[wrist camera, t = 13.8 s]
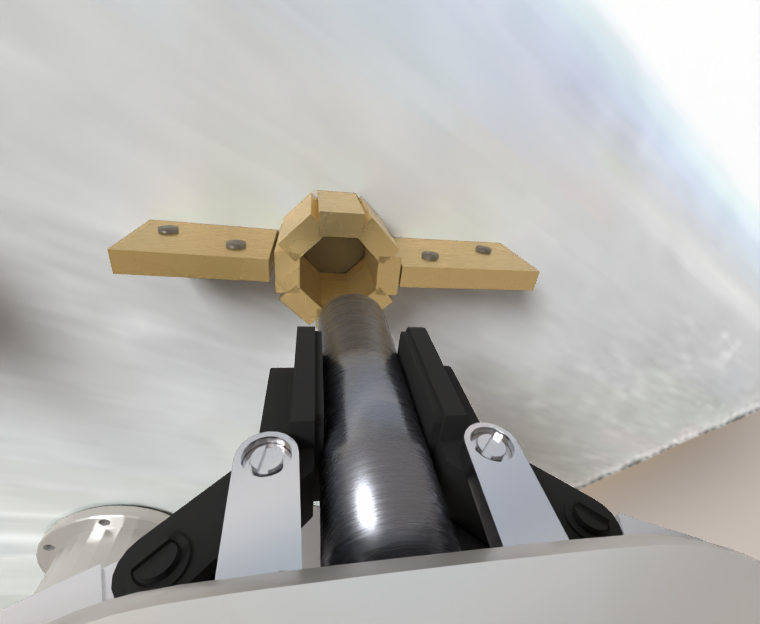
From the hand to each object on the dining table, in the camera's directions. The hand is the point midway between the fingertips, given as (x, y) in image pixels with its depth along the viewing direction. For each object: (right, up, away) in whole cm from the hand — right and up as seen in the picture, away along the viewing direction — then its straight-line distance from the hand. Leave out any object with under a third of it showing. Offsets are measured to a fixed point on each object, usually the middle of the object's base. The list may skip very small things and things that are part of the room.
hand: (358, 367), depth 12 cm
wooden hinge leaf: (-9, +6, +10) cm, 15 cm away
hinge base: (+2, +6, +12) cm, 14 cm away
